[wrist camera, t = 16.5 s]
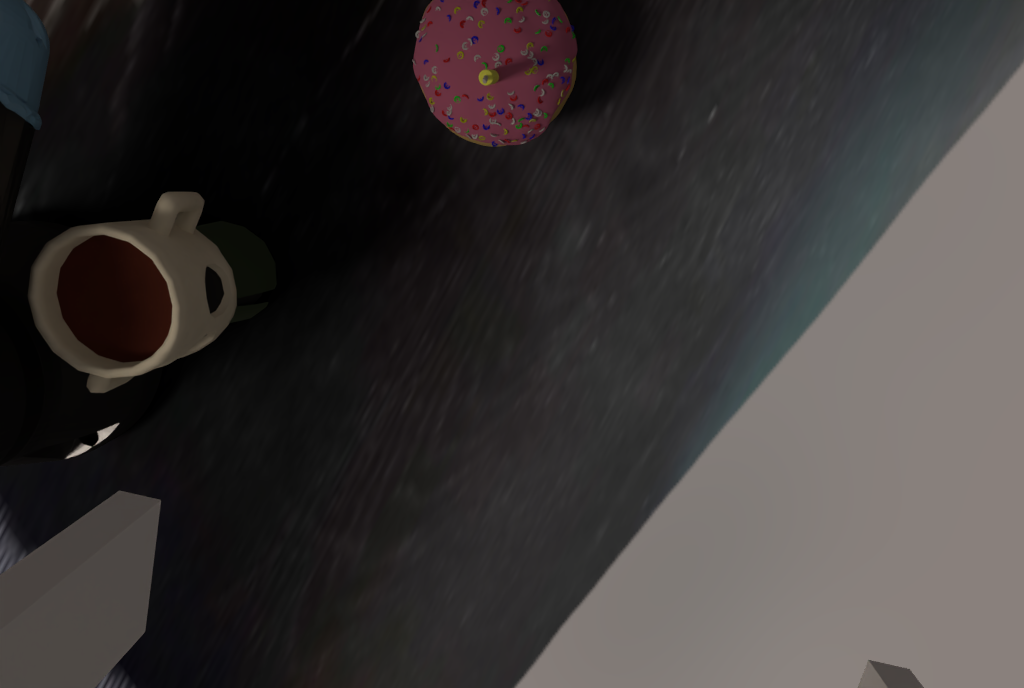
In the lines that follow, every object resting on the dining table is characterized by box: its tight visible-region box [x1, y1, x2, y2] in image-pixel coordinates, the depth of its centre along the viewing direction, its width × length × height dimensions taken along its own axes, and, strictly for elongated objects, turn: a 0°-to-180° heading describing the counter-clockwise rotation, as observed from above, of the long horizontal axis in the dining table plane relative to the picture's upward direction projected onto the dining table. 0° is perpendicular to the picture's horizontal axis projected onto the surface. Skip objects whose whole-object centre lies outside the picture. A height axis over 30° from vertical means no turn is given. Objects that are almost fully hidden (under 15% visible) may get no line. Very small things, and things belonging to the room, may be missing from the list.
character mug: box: [27, 192, 277, 393], centre depth 37 cm, size 11×7×13 cm, turn 152°
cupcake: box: [412, 0, 577, 146], centre depth 35 cm, size 9×8×12 cm
